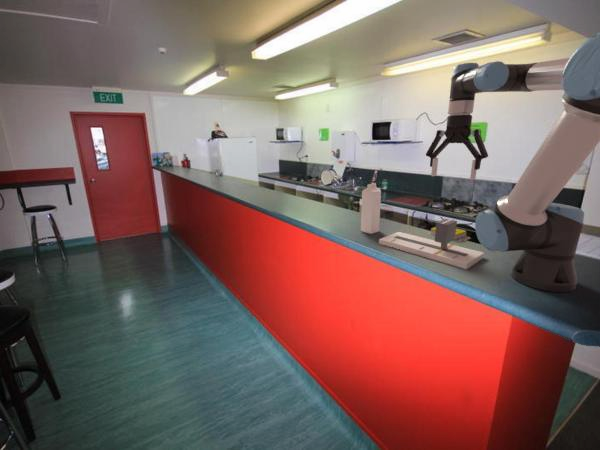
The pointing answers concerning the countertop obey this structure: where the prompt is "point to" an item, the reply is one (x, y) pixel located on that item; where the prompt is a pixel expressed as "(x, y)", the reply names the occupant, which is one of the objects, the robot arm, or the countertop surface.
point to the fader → (445, 232)
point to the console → (433, 249)
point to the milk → (370, 209)
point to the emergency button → (459, 234)
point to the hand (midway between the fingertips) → (452, 177)
